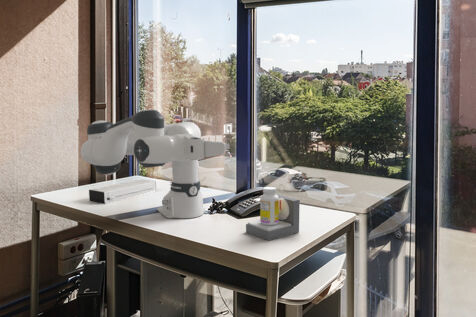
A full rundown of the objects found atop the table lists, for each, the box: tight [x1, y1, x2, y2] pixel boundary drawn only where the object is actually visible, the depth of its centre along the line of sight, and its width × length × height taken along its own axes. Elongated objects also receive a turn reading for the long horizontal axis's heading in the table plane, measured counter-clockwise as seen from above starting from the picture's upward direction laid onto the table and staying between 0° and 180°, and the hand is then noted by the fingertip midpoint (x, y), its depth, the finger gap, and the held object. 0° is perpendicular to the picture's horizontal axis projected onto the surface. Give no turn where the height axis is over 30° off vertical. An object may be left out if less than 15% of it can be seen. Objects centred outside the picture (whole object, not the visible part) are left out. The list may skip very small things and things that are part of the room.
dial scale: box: [245, 194, 301, 241], centre depth 144 cm, size 12×15×12 cm
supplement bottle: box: [259, 186, 279, 225], centre depth 143 cm, size 7×7×13 cm
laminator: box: [88, 178, 157, 205], centre depth 205 cm, size 34×12×6 cm, turn 147°
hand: (220, 145), depth 138 cm, fingers open, 8 cm apart
